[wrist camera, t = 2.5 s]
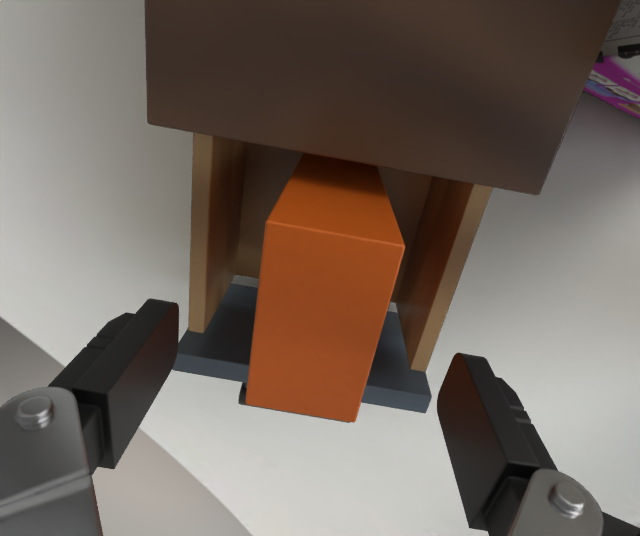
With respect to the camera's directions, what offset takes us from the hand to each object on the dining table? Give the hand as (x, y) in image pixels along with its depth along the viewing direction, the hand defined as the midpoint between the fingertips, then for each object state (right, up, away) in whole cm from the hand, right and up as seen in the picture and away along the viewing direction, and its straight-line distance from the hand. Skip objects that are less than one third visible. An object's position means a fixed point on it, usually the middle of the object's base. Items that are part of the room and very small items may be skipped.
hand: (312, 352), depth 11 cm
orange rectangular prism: (+1, +6, +12) cm, 13 cm away
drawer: (+1, +4, +14) cm, 14 cm away
